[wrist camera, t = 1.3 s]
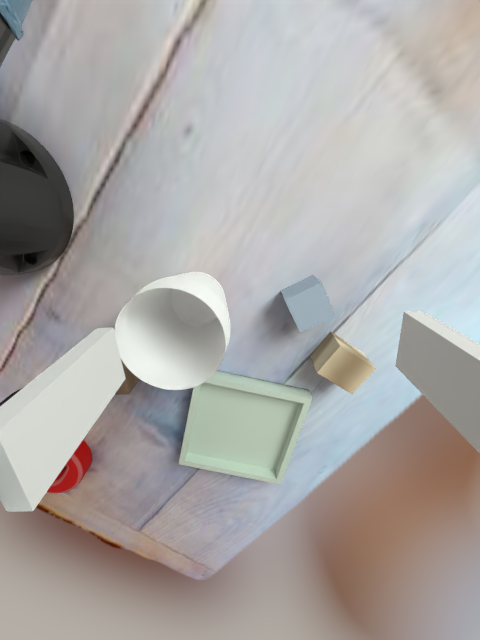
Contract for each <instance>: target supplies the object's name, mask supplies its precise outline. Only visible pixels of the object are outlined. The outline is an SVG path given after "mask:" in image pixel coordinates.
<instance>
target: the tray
mask: <svg viewBox="0 0 480 640" xmlns="http://www.w3.org/2000/svg"><path fill="white" fill-rule="evenodd" d="M311 402H312V397H311V394H310V391H309V390H305V389H301V388H296V387H291V386H287V385H282V384H277V383H273V382H268V381H264V380H259V379H254V378H250V377H245V376H240V375H236V374H231V373H226V372H222V371H216V372H215V373H214V375H213V376H212V377H210V378H209V379H208V380H207V381H205V382H204V383H202V384H200V385H198V386H195V387H194V388H193V393H192V398H191V403H190V408H189V413H188V418H187V423H186V428H185V433H184V439H183V444H182V449H181V454H180V459H179V464H180V465H185V466H190V467H195V468H200V469H205V470H210V471H215V472H220V473H225V474H230V475H235V476H240V477H245V478H250V479H255V480H260V481H265V482H270V483H275V484H280V485H281V482H282V480H283V477H284V474H285V471H286V469H287V466H288V463H289V461H290V458H291V455H292V453H293V450H294V447H295V445H296V442H297V439H298V437H299V434H300V431H301V429H302V426H303V423H304V421H305V418H306V415H307V413H308V410H309V407H310V405H311Z"/></svg>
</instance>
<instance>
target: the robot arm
mask: <svg viewBox="0 0 480 640" xmlns="http://www.w3.org/2000/svg"><path fill="white" fill-rule="evenodd" d="M31 2H32V0H0V66H1V65H2V63H3V61H4V59H5V57H6V55H7V53H8V51H9V49H10V47H11V45H12V43H13V41H14V40H15V38H16V39H17V40H18V41H19V40H20V39H21V38H22V36H23V30H22V23H23V21H24V19H25V16H26V14H27V11H28V9H29V7H30V4H31ZM73 218H74V216H73V204H72V198H71V194H70V191H69V187H68V185H67V182H66V180H65V177H64V175H63V173H62V171H61V170H60V168H59V166H58V165H57V163H56V162H55V160H54V159H53V157H52V156H51V155H50V154H49V152H48V151H47V150H46V149H45V148H44V147H43V146H42V145H41V144H40V143H39V142H38V141H37V140H36V139H35V138H34V137H32V136H31V135H30V134H28V133H27V132H26V131H24V130H22V129H21V128H19V127H17V126H15V125H13V124H11V123H9V122H6V121H4V120H1V119H0V275H18V274H23V273H27V272H31V271H35V270H39V269H42V268H44V267H46V266H48V265H49V264H51V263H52V262H54V261H55V260H56V259H57V258H58V257H59V256H60V255H61V254H62V252H63V251H64V250H65V248H66V246H67V244H68V242H69V240H70V237H71V233H72V229H73ZM396 367H397V368H398V369H399V370H400V371H401V372H402V373H403V374H404V375H405V376H406V377H407V378H408V379H409V380H410V381H411V383H412V384H413V385H414V386H415V387H416V388H417V389H418V390H419V391H420V392H421V393H422V394H423V395H424V396H425V397H426V398H427V399H428V400H429V401H430V402H431V403H432V404H433V405H434V406H435V407H436V408H437V410H438V411H440V413H441V414H442V415H443V416H444V417H445V418H446V419H447V420H448V421H449V422H450V423H451V424H452V425H453V426H454V427H455V428H456V429H457V430H458V431H459V432H460V433H461V434H462V435H463V437H464V438H465V439H467V441H468V442H469V443H470V444H471V445H472V446H473V447H474V448H475V449H476V450H477V451H478V452H479V453H480V344H478V343H477V342H475V341H473V340H471V339H470V338H468V337H466V336H464V335H463V334H461V333H459V332H458V331H456V330H454V329H452V328H451V327H449V326H447V325H445V324H444V323H442V322H440V321H438V320H437V319H435V318H433V317H431V316H430V315H428V314H426V313H424V312H423V311H409V312H404V315H403V321H402V328H401V334H400V341H399V347H398V354H397V360H396ZM125 379H126V378H125V374H124V370H123V366H122V362H121V357H120V353H119V349H118V345H117V341H116V337H115V333H114V329H113V327H111V328H97V329H95V330H94V331H93V332H92V333H90V334H89V335H88V336H87V337H85V338H84V339H83V340H82V341H81V342H79V343H78V344H77V345H76V346H74V347H73V348H72V349H71V350H69V351H68V352H67V353H66V354H64V355H63V356H62V357H61V358H59V359H58V360H57V361H56V362H55V363H53V364H52V365H51V366H50V367H48V368H47V369H46V370H45V371H43V372H42V373H41V374H40V375H38V376H37V377H36V378H35V379H34V380H32V381H31V382H30V383H29V384H27V385H26V386H25V387H23V388H22V389H20V390H18V391H16V392H14V393H12V394H11V395H10V396H8V397H7V398H6V399H5V400H3V401H2V402H1V403H0V500H1V502H2V504H3V506H4V508H5V510H6V512H17V511H34V509H35V508H36V506H37V505H38V503H39V502H40V501H41V499H42V498H43V496H44V495H45V493H46V492H47V491H48V489H49V488H50V486H51V485H52V483H53V482H54V481H55V479H56V478H57V476H58V475H59V473H60V472H61V470H62V469H63V468H64V466H65V465H66V463H67V462H68V460H69V459H70V458H71V456H72V455H73V453H74V452H75V450H76V449H77V448H78V446H79V445H80V443H81V442H82V440H83V439H84V438H85V436H86V435H87V433H88V432H89V430H90V429H91V428H92V426H93V425H94V423H95V422H96V420H97V419H98V418H99V416H100V415H101V413H102V412H103V410H104V409H105V408H106V406H107V405H108V403H109V402H110V400H111V399H112V398H113V396H114V395H115V393H116V392H117V390H118V389H119V388H120V386H121V385H122V383H123V382H124V380H125Z"/></svg>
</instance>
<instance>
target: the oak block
mask: <svg viewBox="0 0 480 640" xmlns="http://www.w3.org/2000/svg"><path fill="white" fill-rule="evenodd" d="M310 357H311V360H312V362H313V364H314V367H315V369H316V372H317V373H318V374H320V375H321V376H323V377H325V378H326V379H328V380H329V381H331V382H333V383H334V384H336V385H338V386H339V387H341V388H343V389H344V390H346V391H347V392H349V393H351V394H353V393H354V392H355V391H356V390H357V388H358V387H359V386H360V385H361V384H362V383H363V382H364V381H365V380H366V379H367V378H368V377H369V376H370V375H371V374H372V372H373V371H374V370H375V369H376V368H375V367H374V365H373V364H372V363H371V362H370V361H369V359H368V358H367V357H366V356H365V354H364V353H363V352H361V351H360V350H358V349H357V348H355V347H354V346H352V345H350V344H349V343H347V342H346V341H344V340H343V339H341V338H340V337H338V336H337V335H335V334H333V333H332V332H330V333H329V334H328V336H327V337H326V338H325V339H324V340H323V342H322V343H321V344H320V345H319V347H318V348H317V349H316V350H315V351H314V353H313V354H312V355H311V356H310Z"/></svg>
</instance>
